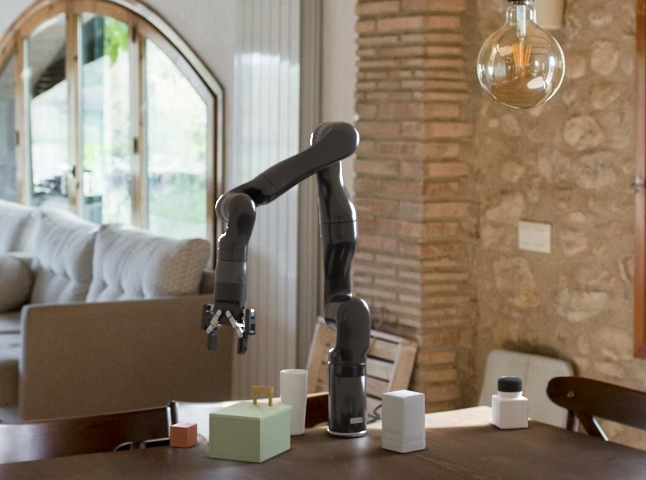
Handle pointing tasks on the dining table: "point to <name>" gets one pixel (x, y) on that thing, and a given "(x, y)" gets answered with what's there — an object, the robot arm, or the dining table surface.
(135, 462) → the dining table surface
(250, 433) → the chest
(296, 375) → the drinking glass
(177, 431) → the block
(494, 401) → the medicine bottle
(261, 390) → the lid
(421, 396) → the white packaging box
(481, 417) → the dining table surface
